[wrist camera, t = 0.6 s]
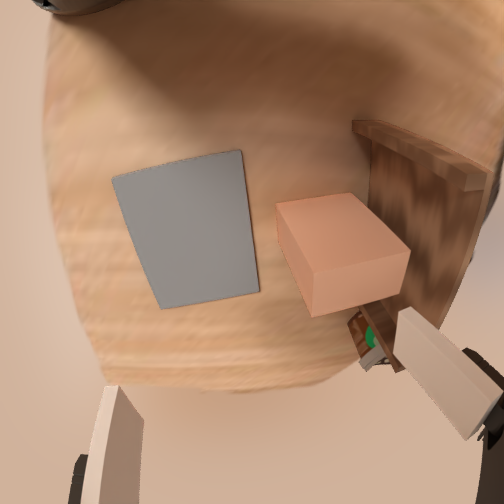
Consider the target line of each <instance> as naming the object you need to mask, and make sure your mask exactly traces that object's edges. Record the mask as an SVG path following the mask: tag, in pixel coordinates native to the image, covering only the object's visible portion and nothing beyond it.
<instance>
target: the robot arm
mask: <svg viewBox="0 0 504 504" xmlns="http://www.w3.org/2000/svg"><path fill="white" fill-rule="evenodd" d="M32 1H33V2H34V3H35V4H36V5H37V6H39V7H40V8H42V9H44V10H46V11H49V12H52V13H55V14H59V15H64V16H78V15H85V14H90V13H94V12H97V11H101V10H103V9H106V8H109V7H111V6H113V5H116V4H118V3H120V2H122V1H124V0H32ZM393 354H394V355H395V357H396V358H397V359H398V360H399V361H400V362H401V363H402V365H403V366H404V367H405V368H406V369H407V370H408V372H409V373H410V374H411V375H412V376H413V377H414V379H415V380H416V381H417V382H418V383H419V385H420V386H421V387H422V388H423V389H424V390H425V392H426V393H427V394H428V395H429V396H430V398H431V399H432V400H433V401H434V403H435V404H436V405H437V406H438V407H439V409H440V410H441V411H442V412H443V413H444V415H445V416H446V417H447V418H448V420H449V421H450V422H451V423H452V425H453V426H454V427H455V428H456V430H457V431H458V432H459V433H460V435H461V436H462V437H463V439H464V440H467V439H469V438H470V437H471V436H472V435H473V434H475V433H476V432H477V431H478V430H479V428H480V427H481V426H482V424H484V425H485V428H484V429H483V431H482V432H481V433H480V435H479V436H478V439H477V441H479V440H480V439H481V438H482V436H483V435H484V438H483V439H482V440H483V454H482V465H481V473H480V480H479V487H478V493H477V498H476V503H475V504H504V377H503V376H502V375H500V373H499V372H498V371H497V370H495V369H494V368H493V367H492V366H491V365H489V363H488V362H487V361H486V360H484V359H483V358H482V357H481V356H480V355H479V354H478V353H477V352H475V351H473V350H471V349H469V348H465V349H464V350H462V351H461V350H460V349H459V348H458V347H457V346H456V345H454V344H453V343H452V342H451V341H450V340H449V339H448V338H447V337H446V336H444V335H443V334H442V333H441V332H440V331H439V330H438V329H437V328H435V327H434V326H433V325H432V324H431V323H430V322H428V321H427V320H426V319H425V318H424V317H423V316H421V315H420V314H419V313H418V312H417V311H416V310H414V309H413V308H412V307H411V306H410V307H408V308H406V309H403V310H401V311H399V312H398V321H397V329H396V336H395V343H394V349H393ZM143 427H144V420H143V418H142V417H141V416H140V414H139V413H138V412H137V410H136V409H135V408H134V406H133V405H132V403H131V402H130V401H129V399H128V398H127V396H126V395H125V393H124V392H123V390H122V389H121V388H120V386H119V385H115V386H105V388H104V391H103V395H102V399H101V403H100V406H99V411H98V415H97V418H96V422H95V427H94V431H93V436H92V440H91V445H90V449H89V454H88V455H84V454H81V455H80V457H79V458H78V460H77V462H76V463H75V467H74V472H73V474H74V476H73V477H72V484H71V488H70V494H69V501H68V504H139V486H140V466H141V465H140V464H141V450H142V438H143Z"/></svg>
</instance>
